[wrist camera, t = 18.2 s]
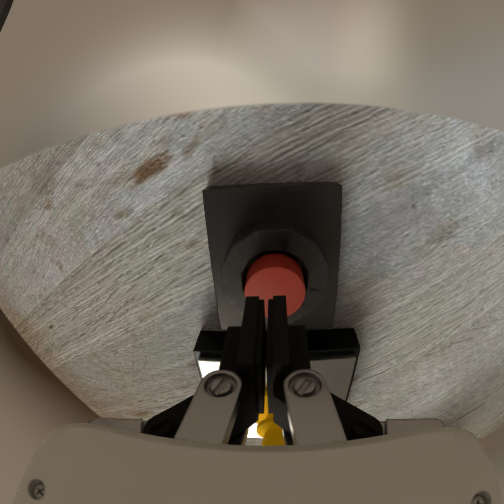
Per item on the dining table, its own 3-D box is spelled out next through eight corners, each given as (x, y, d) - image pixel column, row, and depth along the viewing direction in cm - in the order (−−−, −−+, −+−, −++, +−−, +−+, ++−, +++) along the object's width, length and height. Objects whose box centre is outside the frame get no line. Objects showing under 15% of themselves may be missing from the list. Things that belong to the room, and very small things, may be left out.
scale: (200, 330, 22) (190, 356, 19) (354, 327, 20) (362, 353, 18) (220, 415, 26) (216, 437, 24) (335, 413, 25) (338, 436, 22)
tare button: (245, 253, 16) (241, 267, 14) (303, 251, 16) (306, 265, 14) (249, 302, 17) (246, 319, 15) (302, 300, 17) (304, 318, 15)
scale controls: (206, 186, 17) (193, 197, 14) (337, 181, 16) (350, 191, 14) (223, 320, 21) (216, 347, 18) (330, 318, 20) (336, 345, 18)
